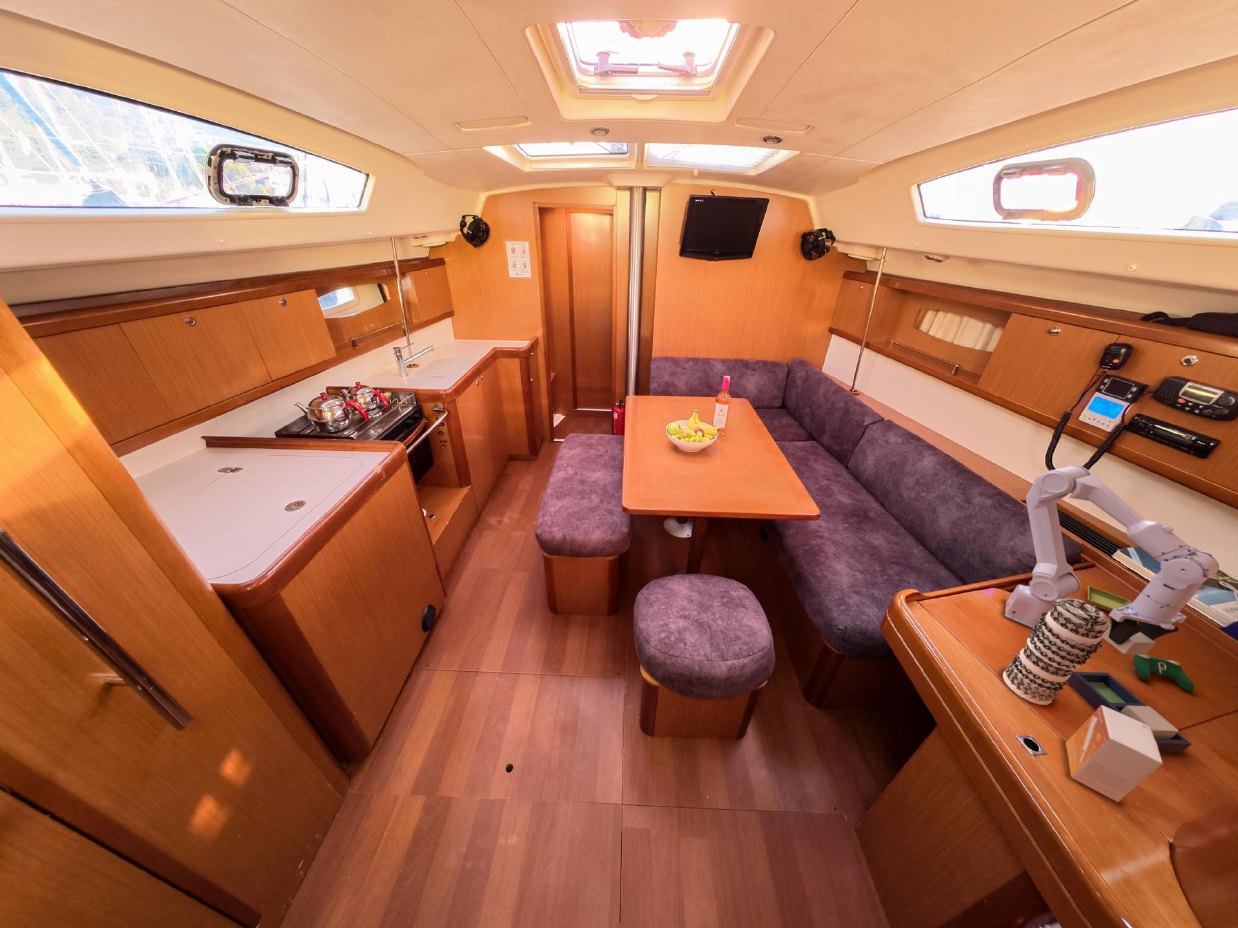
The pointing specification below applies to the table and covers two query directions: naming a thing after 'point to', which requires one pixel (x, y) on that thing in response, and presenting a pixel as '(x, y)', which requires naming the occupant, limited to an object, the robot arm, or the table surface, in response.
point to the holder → (1118, 701)
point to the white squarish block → (1132, 644)
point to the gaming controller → (1162, 670)
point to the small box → (1112, 753)
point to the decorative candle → (1056, 650)
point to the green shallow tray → (1105, 599)
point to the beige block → (1151, 721)
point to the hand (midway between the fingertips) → (1125, 641)
